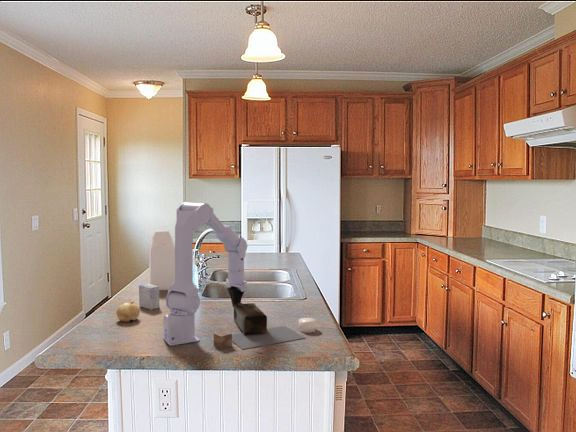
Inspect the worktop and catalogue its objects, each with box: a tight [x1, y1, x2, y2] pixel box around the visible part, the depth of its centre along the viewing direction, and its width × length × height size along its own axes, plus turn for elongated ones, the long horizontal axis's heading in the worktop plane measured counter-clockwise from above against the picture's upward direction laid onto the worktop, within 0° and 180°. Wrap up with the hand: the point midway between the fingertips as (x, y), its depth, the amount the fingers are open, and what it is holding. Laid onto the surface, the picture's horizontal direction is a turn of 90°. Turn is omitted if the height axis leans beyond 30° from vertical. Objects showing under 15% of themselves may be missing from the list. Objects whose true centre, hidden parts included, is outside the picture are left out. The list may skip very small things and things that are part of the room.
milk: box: [148, 230, 175, 291], centre depth 234 cm, size 12×12×26 cm
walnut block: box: [213, 330, 233, 350], centre depth 156 cm, size 4×4×4 cm
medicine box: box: [138, 283, 160, 311], centre depth 200 cm, size 8×4×9 cm, turn 47°
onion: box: [115, 299, 140, 323], centre depth 182 cm, size 8×8×7 cm
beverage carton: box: [233, 302, 268, 335], centre depth 175 cm, size 8×19×7 cm, turn 17°
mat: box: [232, 325, 306, 350], centre depth 165 cm, size 22×14×1 cm, turn 119°
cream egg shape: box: [298, 317, 317, 334], centre depth 172 cm, size 6×6×4 cm
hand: (236, 306), depth 185 cm, fingers closed
